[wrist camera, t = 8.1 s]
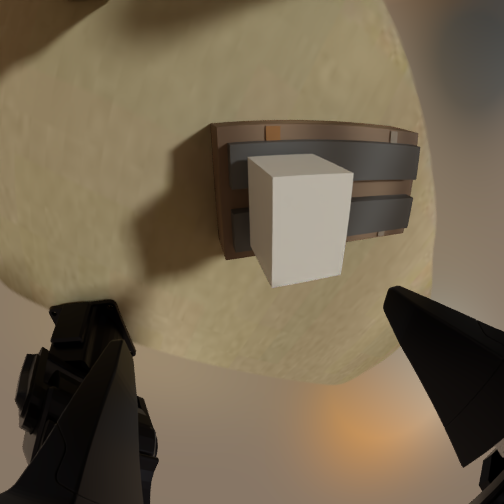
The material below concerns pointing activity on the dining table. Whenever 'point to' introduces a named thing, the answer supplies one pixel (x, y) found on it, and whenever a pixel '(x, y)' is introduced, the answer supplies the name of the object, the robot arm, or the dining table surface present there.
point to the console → (329, 148)
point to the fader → (298, 216)
